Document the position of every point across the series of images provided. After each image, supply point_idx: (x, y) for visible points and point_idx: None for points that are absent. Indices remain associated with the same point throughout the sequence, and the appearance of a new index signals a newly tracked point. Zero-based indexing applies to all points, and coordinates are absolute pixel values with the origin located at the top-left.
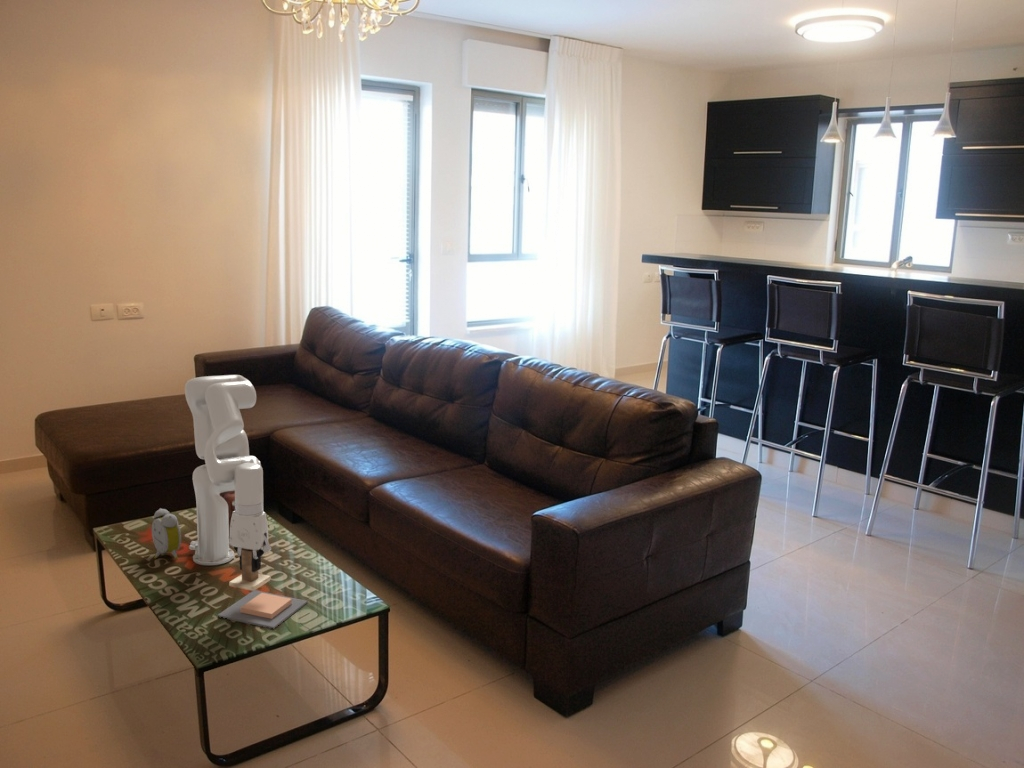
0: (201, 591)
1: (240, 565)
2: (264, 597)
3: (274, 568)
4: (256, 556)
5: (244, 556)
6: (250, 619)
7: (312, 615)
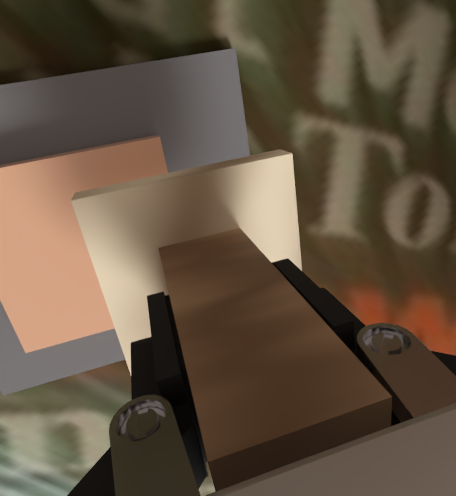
0: (440, 192)
1: (299, 274)
2: None
3: None
4: (118, 440)
5: (295, 349)
6: (51, 105)
7: None
